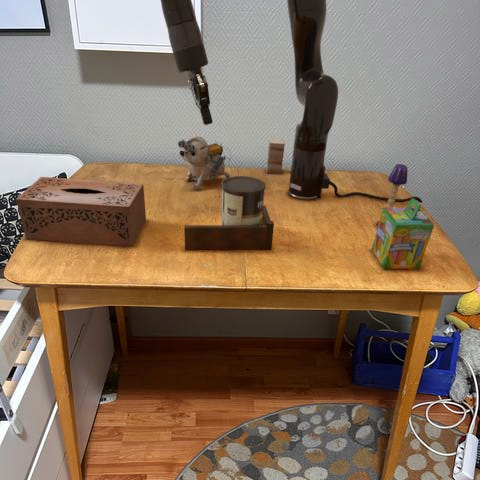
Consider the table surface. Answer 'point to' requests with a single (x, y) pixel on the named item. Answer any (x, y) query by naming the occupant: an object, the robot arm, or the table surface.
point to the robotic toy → (202, 160)
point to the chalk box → (402, 237)
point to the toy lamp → (396, 183)
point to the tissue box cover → (83, 211)
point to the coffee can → (242, 201)
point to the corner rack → (230, 236)
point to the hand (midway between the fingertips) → (208, 124)
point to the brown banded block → (275, 156)
